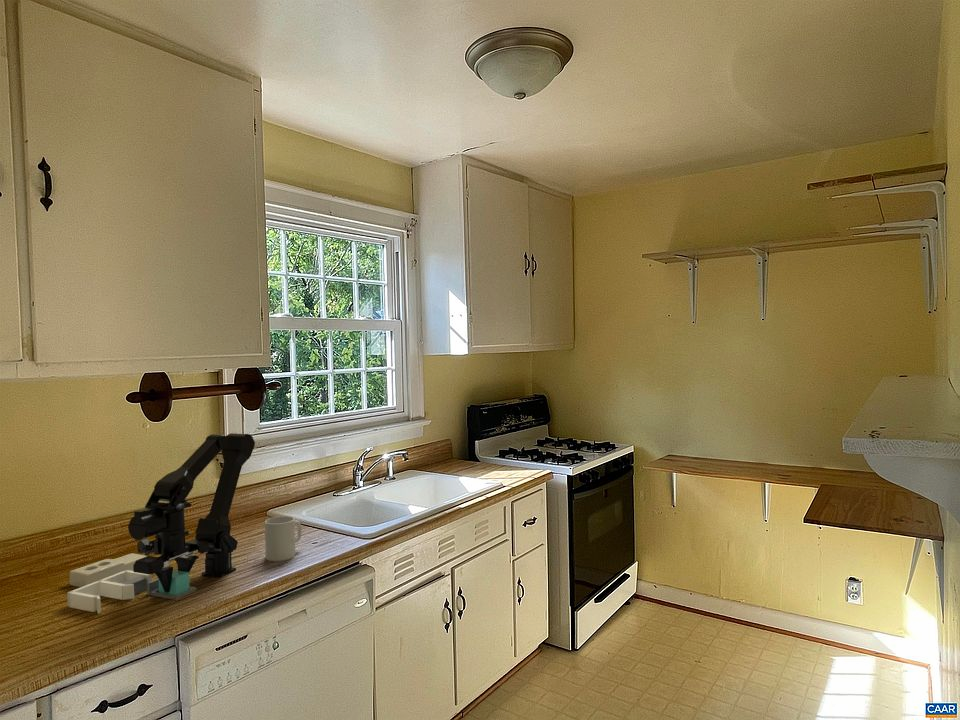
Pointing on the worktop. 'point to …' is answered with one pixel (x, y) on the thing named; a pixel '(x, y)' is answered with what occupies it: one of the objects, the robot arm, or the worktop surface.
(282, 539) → the mug
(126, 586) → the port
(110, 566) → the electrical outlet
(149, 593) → the grey rectangular frame stand
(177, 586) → the plug
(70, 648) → the worktop surface
